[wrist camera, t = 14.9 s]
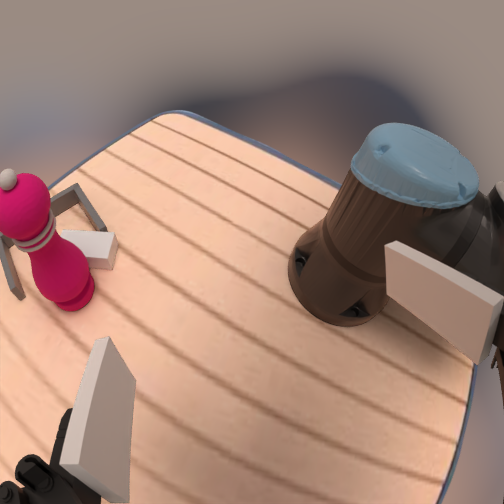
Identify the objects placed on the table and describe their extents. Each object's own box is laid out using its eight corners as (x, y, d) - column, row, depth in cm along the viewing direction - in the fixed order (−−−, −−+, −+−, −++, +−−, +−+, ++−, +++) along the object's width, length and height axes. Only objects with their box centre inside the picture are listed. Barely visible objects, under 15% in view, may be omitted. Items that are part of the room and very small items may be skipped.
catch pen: (81, 196, 41) (77, 182, 39) (110, 239, 38) (105, 225, 35) (2, 247, 33) (-6, 235, 31) (20, 300, 30) (10, 290, 27)
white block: (118, 245, 38) (114, 232, 35) (112, 271, 36) (107, 258, 33) (69, 242, 37) (63, 229, 34) (61, 266, 34) (54, 253, 32)
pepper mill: (74, 256, 35) (21, 135, 19) (108, 284, 34) (56, 158, 18) (41, 293, 31) (-37, 184, 15) (73, 326, 30) (-15, 220, 14)
